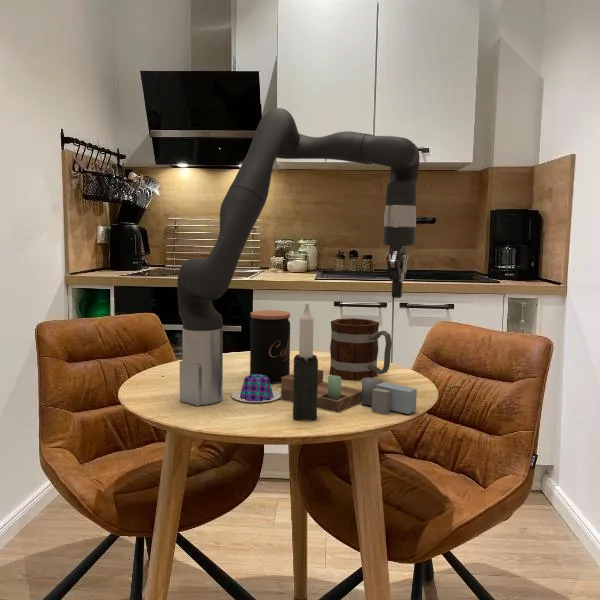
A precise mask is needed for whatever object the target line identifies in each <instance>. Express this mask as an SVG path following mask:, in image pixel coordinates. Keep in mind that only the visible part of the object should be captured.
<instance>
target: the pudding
mask: <svg viewBox="0 0 600 600" xmlns="http://www.w3.org/2000/svg"><path fill="white" fill-rule="evenodd" d="M271 384H272V383H270V380H269V378H268V377H267V376H265V375H260V374H256V375H254V374H253V375H250V374H249V375H246V376H245V377H244V379H243V383H242V386H241V389H239V390H236V391H233V392H232V393H231V398H233V399H234V400H236V401H241V402H245V403H250V402H254V403H267V402H273V401H276V400H279V398H280V399H281V392H280V391H277V390H275V389H272V386H271ZM239 395H240V396H239ZM238 396H239V398H238ZM240 398H241V399H240ZM244 399H245V400H246V401H245V400H244Z"/></svg>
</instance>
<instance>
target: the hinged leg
mask: <svg viewBox="0 0 600 600" xmlns="http://www.w3.org/2000/svg"><path fill="white" fill-rule="evenodd" d="M375 388H379V389H385V390H390V411H394V412H398V413H403V414H406V415H410V414H412V413H414V412H416V411H417V397H418V395H417V394H418V393H417V392H418V388H416V387H415V388H414V387H408V386H404V385H400V384H394V383H389V382H381V383H380V379H379V378H376V377H375V378H363V379H362V381H361V390H362V393H361V402H360V403H361V404H363V405H366V406H372V390H373V389H375Z"/></svg>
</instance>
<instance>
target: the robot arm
mask: <svg viewBox="0 0 600 600" xmlns="http://www.w3.org/2000/svg"><path fill="white" fill-rule="evenodd" d="M276 159H283V160H285V159H286V160H300V159H301V160H302V159H303V160H337V161H345V162H350V163H356V164H362V165H373V164H375V165H380V166H385V167H389V168H390V169H389V170H390V172H389V182H388V183H387V185H386V191H385V192H386V193H385V209H384V217H383V238H382V239H383V240H382V244H383V245H385V246H391V249H390V252H389V253H388V259H387V261H386V263H387V265H386V266H387V269H388V271H387V272H388V277H389V280H390V282H391V298H394V299H400V298H402V296H403V286H404V285H403V283H404V281H405V279H406V275H407V270H408V265H409V261H410V259H409V253H407V246H409V247H410V246H411V247H412V246H413V247H414V245H416V230H417V229H416V228H417V210H416V208H417V207H416V204H417V203H416V202H417V180H418V175H419V170H420V169H419V168H420V150H419V148H418V147H417V145H416V144H415V143H414V142H413V141H412V140H411V139H409V138H405V137H401V136H392V135H391V136H390V135H375V134H374V135H373V134H371V133H363V132H358V131H349V130H348V131H346V130H345V131H338V132H335V133H331V134H329V135H324V136H318V137H317V136H315V137H314V136H309V135H305V134H302V133H300V132H299V130H298V126H297V124H296V121H295V119H294V117H293V115H292V114H291V113H290V112H289V110H287V109H286V108H283V107H282V108H281V107H277V108H273V109H271V110H270V111H268V112H266V113H265V114H264V115H263V116H262V117H261V119H260V121H259V123H258V125H257V128H256V130H255V133H254V135H253V138H252V141H251V144H250V145H249V148H248V150H247V154H245V157H244V159H243V160H242V163H241V165H240V167H239V169H238V172H237V173H236V176H235V177H234V179H233V181H232V183H231V185H230V186H229V188H228V190H227V192H226V194H225V196H224V198H223V199H222V202H221V205H220V209H219V233H218V237H217V240H216V242H215V244H214V246H213V247H212V250H211V251H210V253H209V255H208V256H207V258H201V257H193V258H192V257H191V258H189V259H187V260H185V261H184V262H183V263H182V264H181V266H180V268H179V270H178V275H177V283H176V284H177V301H178V302H177V303H178V305H177V306H178V313H179V317H180V319H181V322H182V360H180V361H179V401H180V402H182V403H187V404H190V405H193V406H197V407H199V406H202V405H203V406H204V405H205V406H206V405H211V404H217V403H219V402H221V401H222V400H223V399H224V398H223V397H224V395H223V393H224V392H223V387H224V385H223V381H224V380H223V378H224V377H223V374H224V373H223V372H224V371H223V363H224V362H223V359H224V358H223V354H224V353H223V347H224V345H223V344H224V343H223V342H224V341H223V337H224V336H223V334H224V332H223V331H224V330H223V329H224V322H223V316H222V314H221V313H219V312H218V310H216V309H215V307H214V305H213V300H214V301H215V300H218V299H220V298H221V297H223V295H224V294H226V292H227V291H228V288H229V286H230V285H231V283H232V279H233V277H234V273H235V271H236V269H237V266H238V263H239V260H240V257H241V255H242V254H243V253H242V252H243V250H244V249H245V246H246V243H247V241H248V239H249V237H250V235H251V233H252V231H253V228H254V226H255V225H256V222H257V221H258V219H259V217H260V215H261V213H262V211H263V209H264V207H265V204H266V202H267V199H268V196H269V191H270V185H271V179H272V173H273V167H274V163H275V160H276Z"/></svg>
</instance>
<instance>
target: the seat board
mask: <svg viewBox="0 0 600 600" xmlns="http://www.w3.org/2000/svg"><path fill="white" fill-rule="evenodd" d="M293 378H294V374H291V373H290V374H289V375H287V376H283V377H281V382H280V393H281V397H280V400H281V401H282V400H283V401H286V402H292V403H293ZM361 393H362V388H356V387H351V386H346V385H342V384H341V399H338V400H334V399H329V398H328V381H327V382H325V381H324V370H323V369H318V389H317V409H320V410H321V409H322V410H326V411H331V412H333V411H334V412H333V413H340V412H342V411H344V410H346V409H348V408H351V407H353V406H355V405H357V404H360V403H361Z"/></svg>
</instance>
